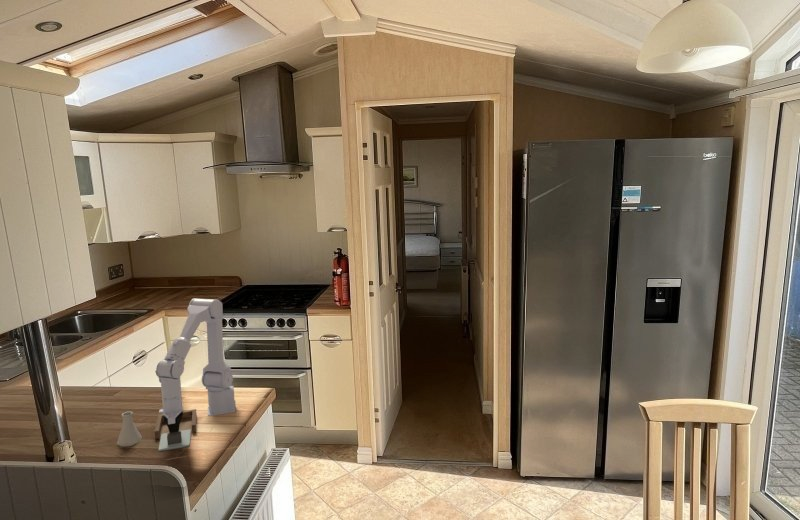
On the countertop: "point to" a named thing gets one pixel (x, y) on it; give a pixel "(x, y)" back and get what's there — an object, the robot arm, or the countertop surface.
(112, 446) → the countertop surface
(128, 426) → the flask
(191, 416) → the box
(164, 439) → the cover plate
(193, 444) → the countertop surface
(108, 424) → the countertop surface
